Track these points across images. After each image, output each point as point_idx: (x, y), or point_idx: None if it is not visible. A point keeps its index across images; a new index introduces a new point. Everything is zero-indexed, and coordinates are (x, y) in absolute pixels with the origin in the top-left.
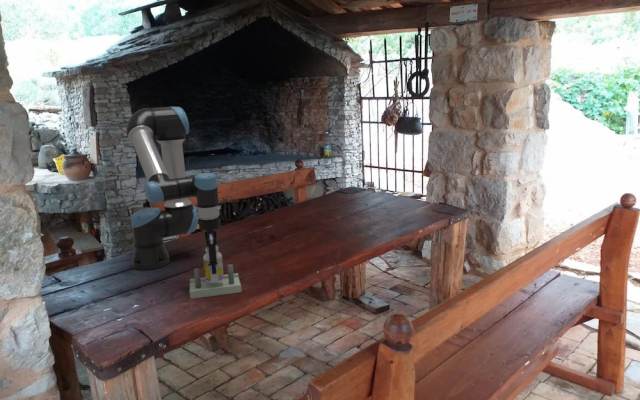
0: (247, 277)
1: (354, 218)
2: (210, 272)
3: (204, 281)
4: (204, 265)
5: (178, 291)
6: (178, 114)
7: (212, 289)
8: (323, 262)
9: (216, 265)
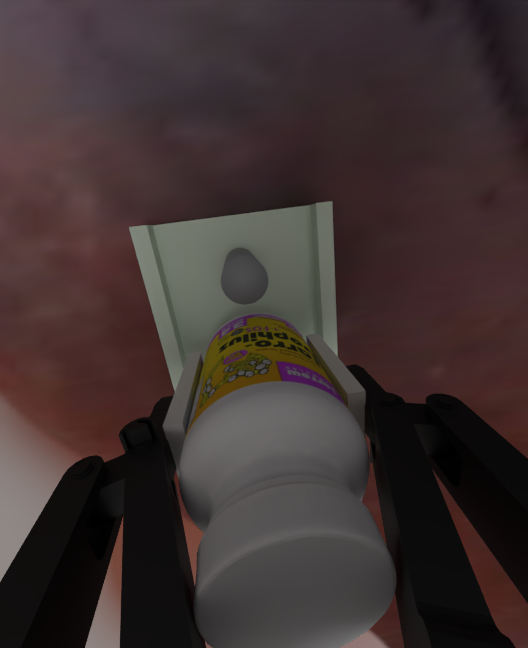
0: None
1: None
2: (178, 388)
3: (313, 286)
4: (231, 362)
5: (255, 141)
6: None
7: (163, 349)
8: (391, 616)
9: (178, 465)
